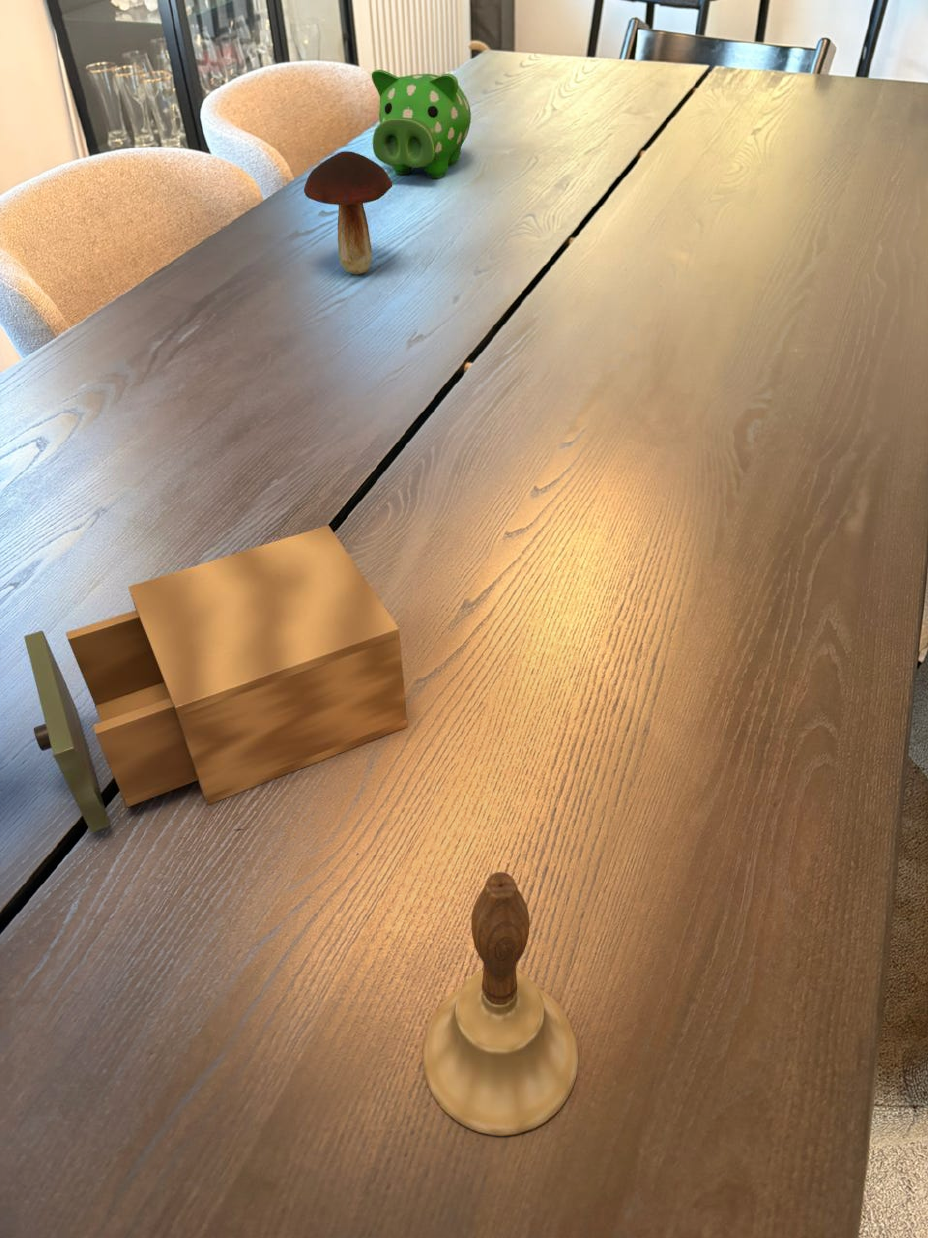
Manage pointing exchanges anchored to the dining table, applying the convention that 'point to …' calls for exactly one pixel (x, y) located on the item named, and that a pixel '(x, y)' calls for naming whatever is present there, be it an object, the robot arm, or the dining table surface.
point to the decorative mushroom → (349, 202)
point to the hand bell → (500, 1030)
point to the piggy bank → (420, 122)
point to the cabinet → (273, 659)
